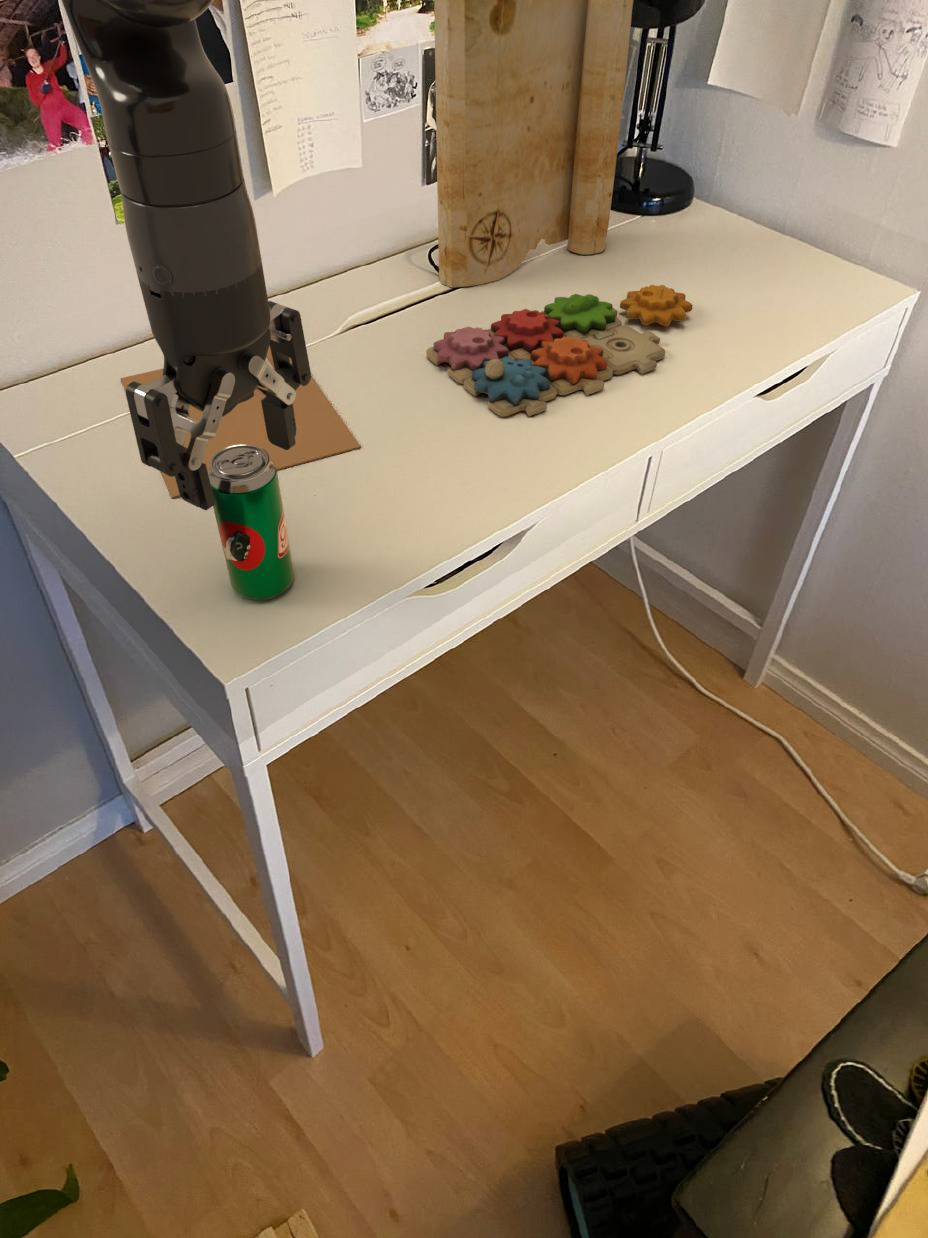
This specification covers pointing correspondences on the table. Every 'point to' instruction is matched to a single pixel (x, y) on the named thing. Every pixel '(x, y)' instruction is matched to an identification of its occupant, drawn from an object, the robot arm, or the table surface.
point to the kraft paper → (246, 425)
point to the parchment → (525, 128)
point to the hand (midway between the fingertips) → (243, 473)
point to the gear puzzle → (557, 348)
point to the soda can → (251, 521)
